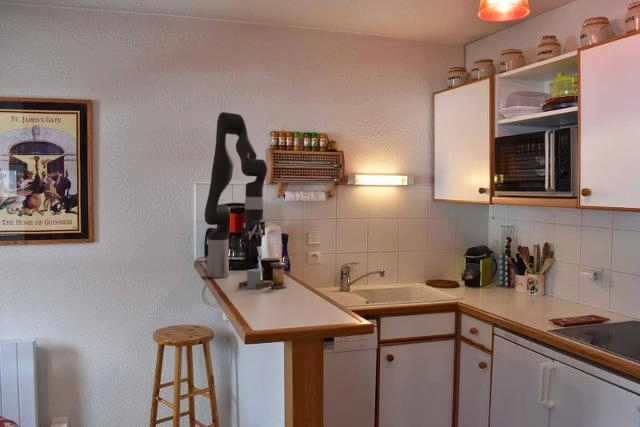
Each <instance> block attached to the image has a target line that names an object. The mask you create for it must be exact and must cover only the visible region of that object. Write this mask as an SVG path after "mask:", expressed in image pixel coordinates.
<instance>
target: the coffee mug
mask: <svg viewBox="0 0 640 427" xmlns="http://www.w3.org/2000/svg"><path fill="white" fill-rule="evenodd" d="M277 262H280V263H281V258H279V257H263V258H260V268H261V269H260V270H261V276H262V279H261V280H267V281H272V284H273V266H271V263H277Z"/></svg>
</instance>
